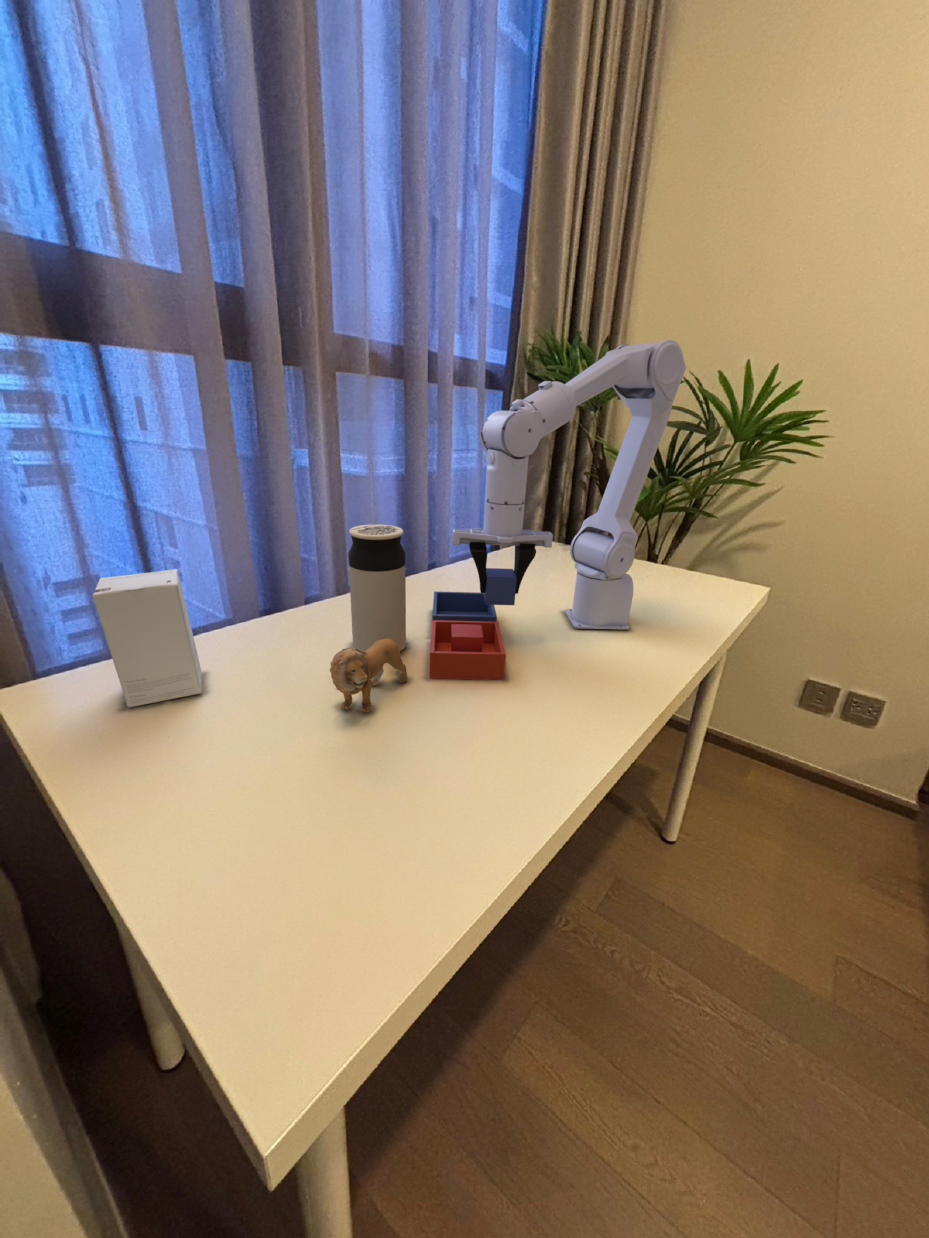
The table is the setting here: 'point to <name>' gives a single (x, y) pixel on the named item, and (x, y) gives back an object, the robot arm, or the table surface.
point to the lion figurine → (364, 670)
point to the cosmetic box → (149, 636)
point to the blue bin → (462, 607)
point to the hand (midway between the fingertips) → (498, 591)
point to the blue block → (500, 586)
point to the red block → (466, 638)
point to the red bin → (467, 653)
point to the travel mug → (377, 585)
